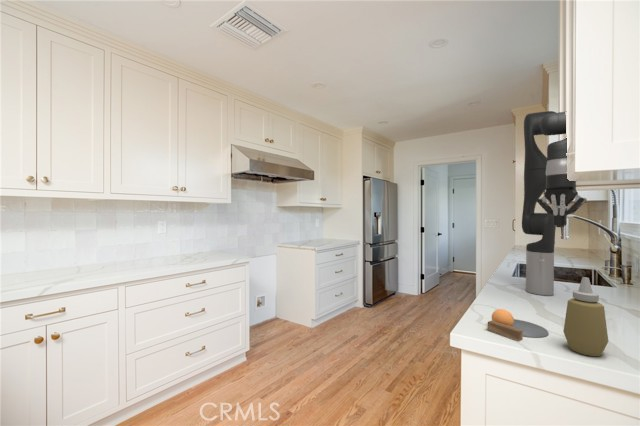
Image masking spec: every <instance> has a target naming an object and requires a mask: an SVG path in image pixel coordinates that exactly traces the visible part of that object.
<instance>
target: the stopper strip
mask: <svg viewBox="0 0 640 426" xmlns="http://www.w3.org/2000/svg"><path fill="white" fill-rule="evenodd" d="M487 331H488V332H489V333H490V332H491V333H493V334H496V335H499V336H502V337H505V338H508V339H510V340H514V341H515V342H520V341H523V330H520V329H517V328H514V327H511V326H507V325H504V324H501V323H498V322H495V321H492V319H491V320H488V321H487Z"/></svg>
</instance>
